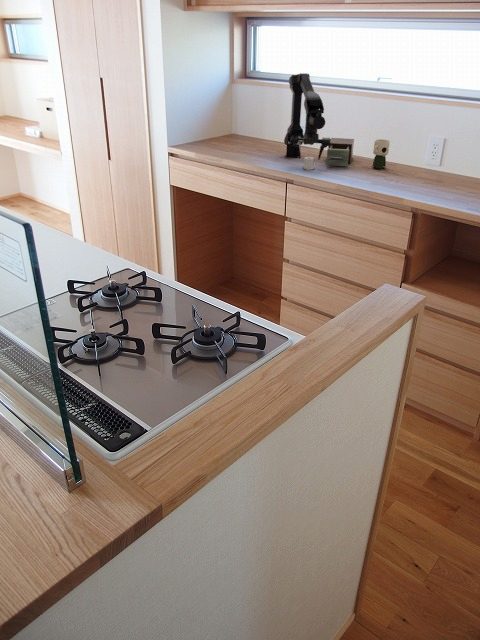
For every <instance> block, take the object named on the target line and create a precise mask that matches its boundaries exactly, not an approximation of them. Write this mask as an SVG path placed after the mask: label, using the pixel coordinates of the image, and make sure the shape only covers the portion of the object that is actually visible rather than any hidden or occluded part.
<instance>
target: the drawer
mask: <svg viewBox="0 0 480 640" xmlns="http://www.w3.org/2000/svg"><path fill="white" fill-rule="evenodd" d="M349 147H350V146H346V145H331V147H330V148H329V149H328V148H326V149H327V151H326V161H325V166H332V167H349V164H348V159H349Z"/></svg>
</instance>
